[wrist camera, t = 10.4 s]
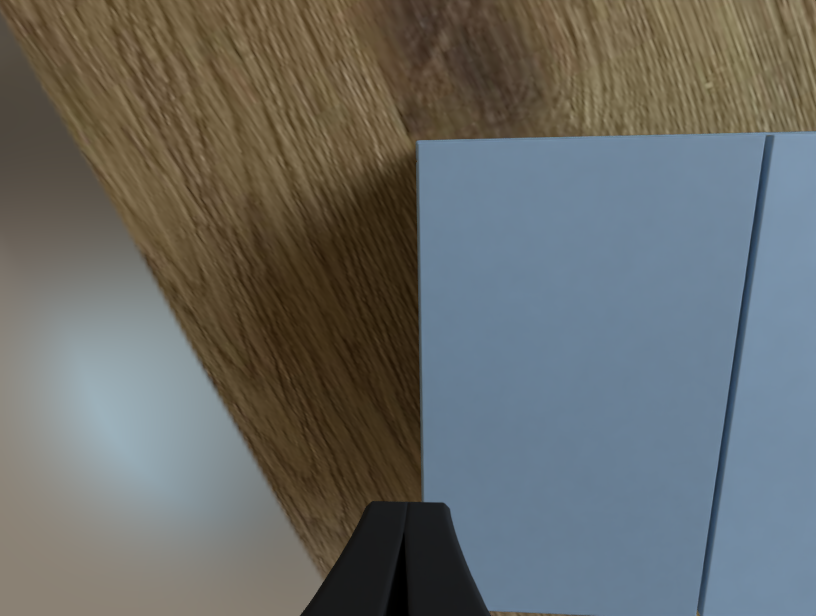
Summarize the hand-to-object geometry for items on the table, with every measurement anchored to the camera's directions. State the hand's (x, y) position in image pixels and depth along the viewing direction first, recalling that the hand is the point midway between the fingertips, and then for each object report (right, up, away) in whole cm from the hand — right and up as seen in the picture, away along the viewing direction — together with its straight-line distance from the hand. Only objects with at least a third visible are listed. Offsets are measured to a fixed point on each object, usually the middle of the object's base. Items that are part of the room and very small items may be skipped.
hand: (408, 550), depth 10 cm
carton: (+7, +4, +9) cm, 12 cm away
